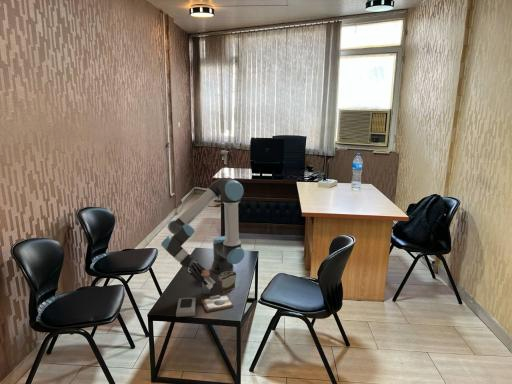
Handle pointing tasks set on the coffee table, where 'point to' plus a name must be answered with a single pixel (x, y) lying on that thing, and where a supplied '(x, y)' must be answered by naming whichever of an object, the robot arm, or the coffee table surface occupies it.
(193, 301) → the grey framed panel
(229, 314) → the coffee table surface
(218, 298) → the clipboard
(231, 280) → the food container
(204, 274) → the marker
